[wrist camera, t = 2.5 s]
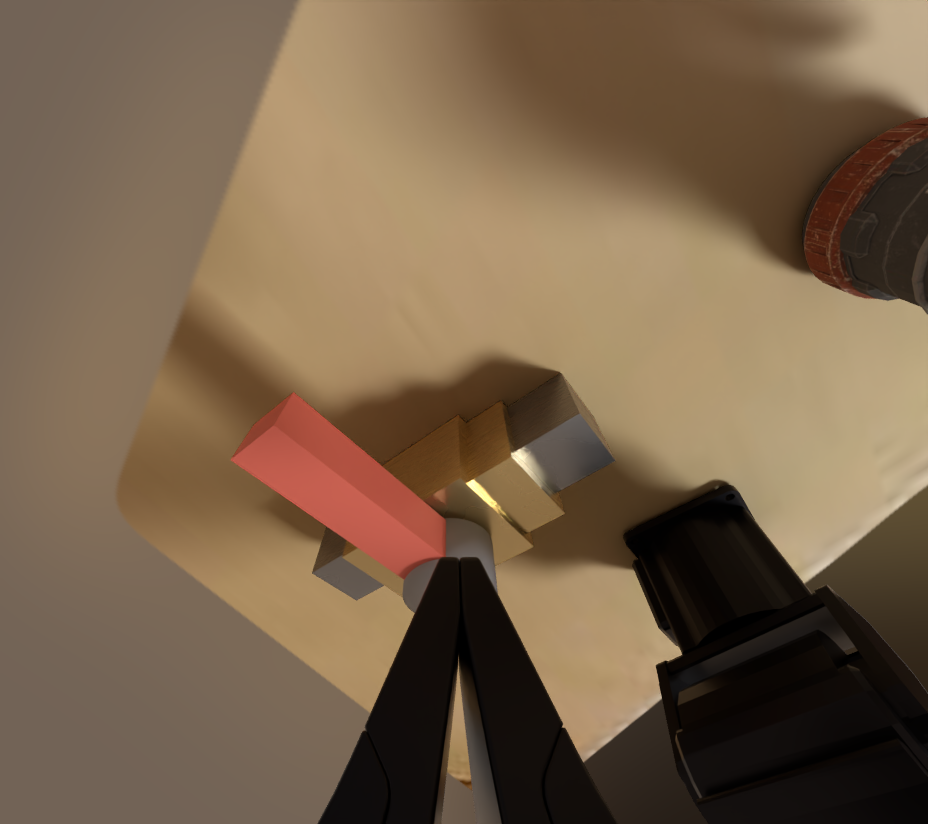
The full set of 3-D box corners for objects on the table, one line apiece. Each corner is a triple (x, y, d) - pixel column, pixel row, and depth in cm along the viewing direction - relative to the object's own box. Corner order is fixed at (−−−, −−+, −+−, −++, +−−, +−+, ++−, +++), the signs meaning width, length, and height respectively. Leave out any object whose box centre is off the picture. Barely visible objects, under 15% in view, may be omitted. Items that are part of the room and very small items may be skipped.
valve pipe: (548, 355, 18) (572, 410, 15) (604, 431, 20) (637, 494, 17) (312, 512, 23) (286, 582, 19) (379, 559, 25) (368, 629, 22)
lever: (509, 550, 18) (515, 598, 16) (444, 584, 19) (443, 631, 17) (311, 376, 13) (289, 416, 11) (239, 435, 14) (209, 479, 13)
